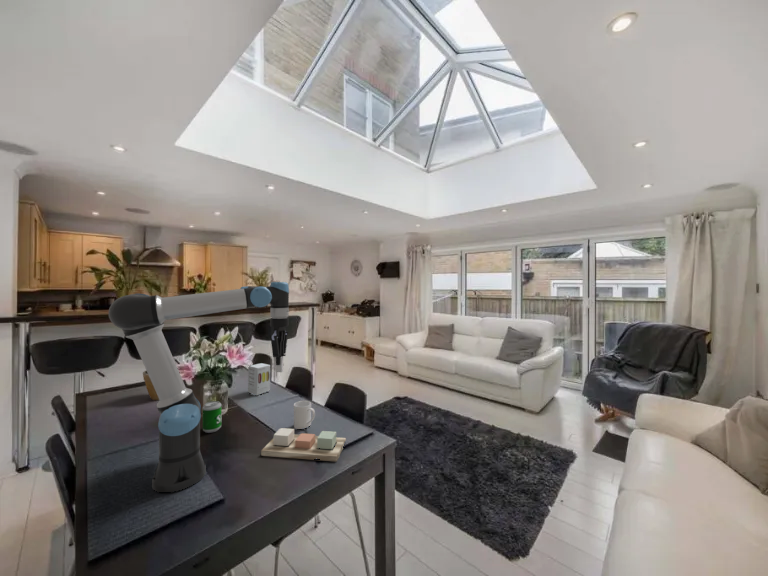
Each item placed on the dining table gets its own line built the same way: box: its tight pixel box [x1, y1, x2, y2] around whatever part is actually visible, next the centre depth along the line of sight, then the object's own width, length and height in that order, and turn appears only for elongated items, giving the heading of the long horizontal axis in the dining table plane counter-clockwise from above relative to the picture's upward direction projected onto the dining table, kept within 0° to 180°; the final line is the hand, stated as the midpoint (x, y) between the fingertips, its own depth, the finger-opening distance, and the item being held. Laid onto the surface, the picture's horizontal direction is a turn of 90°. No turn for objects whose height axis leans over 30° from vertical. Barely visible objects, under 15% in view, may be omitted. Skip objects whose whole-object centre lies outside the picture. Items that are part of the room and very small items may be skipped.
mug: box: [293, 400, 316, 430], centre depth 143 cm, size 12×8×10 cm, turn 53°
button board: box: [260, 433, 347, 462], centre depth 124 cm, size 14×30×2 cm, turn 83°
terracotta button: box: [295, 432, 316, 449], centre depth 124 cm, size 6×6×4 cm
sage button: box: [317, 430, 337, 450], centre depth 123 cm, size 6×6×4 cm
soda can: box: [202, 400, 223, 434], centre depth 140 cm, size 8×8×12 cm
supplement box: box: [247, 362, 271, 395], centre depth 188 cm, size 10×9×17 cm
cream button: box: [273, 427, 295, 447], centre depth 125 cm, size 6×6×4 cm
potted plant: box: [142, 369, 159, 401], centre depth 180 cm, size 18×19×25 cm
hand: (279, 371), depth 134 cm, fingers closed
